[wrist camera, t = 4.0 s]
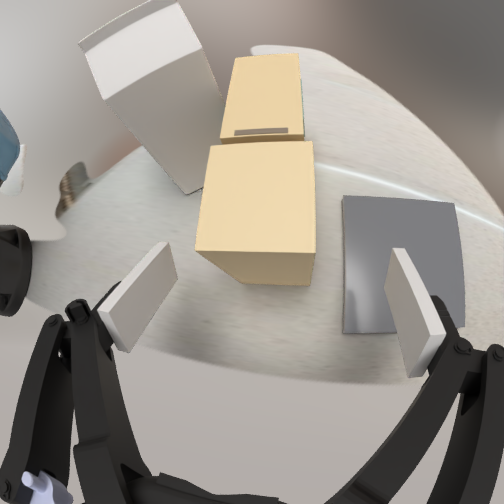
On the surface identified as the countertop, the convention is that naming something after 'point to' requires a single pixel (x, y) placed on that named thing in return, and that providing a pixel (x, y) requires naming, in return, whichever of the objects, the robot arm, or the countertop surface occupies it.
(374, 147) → the countertop surface
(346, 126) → the countertop surface
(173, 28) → the milk carton
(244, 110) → the cardboard shipping box
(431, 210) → the plate
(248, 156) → the tan rectangular block
